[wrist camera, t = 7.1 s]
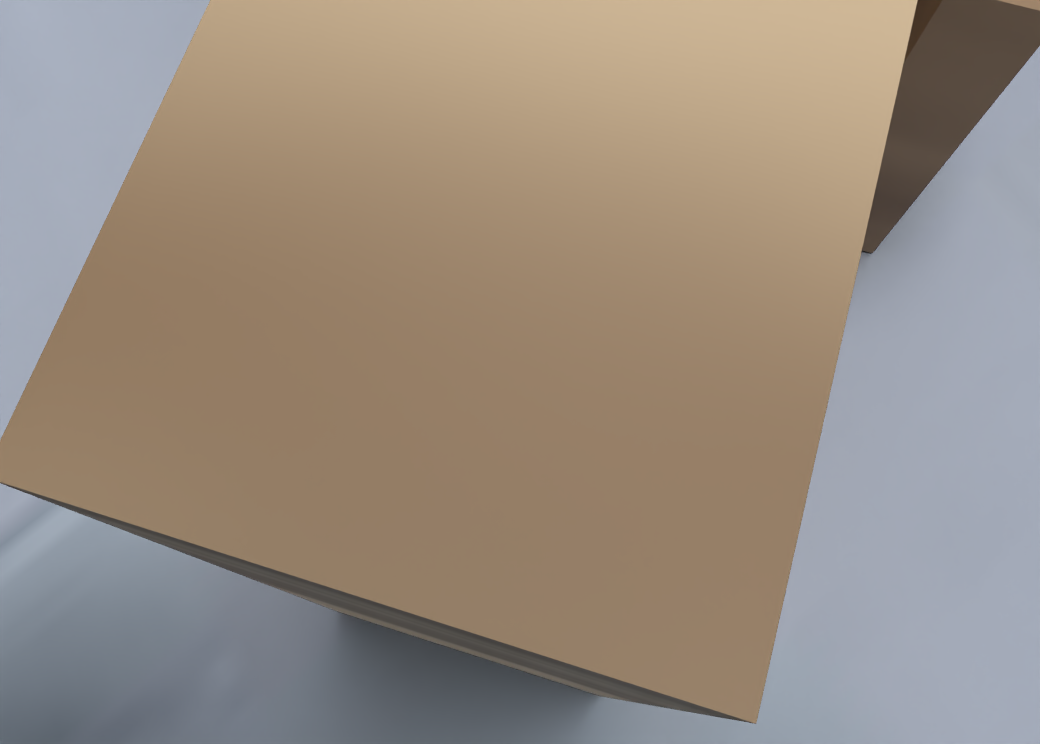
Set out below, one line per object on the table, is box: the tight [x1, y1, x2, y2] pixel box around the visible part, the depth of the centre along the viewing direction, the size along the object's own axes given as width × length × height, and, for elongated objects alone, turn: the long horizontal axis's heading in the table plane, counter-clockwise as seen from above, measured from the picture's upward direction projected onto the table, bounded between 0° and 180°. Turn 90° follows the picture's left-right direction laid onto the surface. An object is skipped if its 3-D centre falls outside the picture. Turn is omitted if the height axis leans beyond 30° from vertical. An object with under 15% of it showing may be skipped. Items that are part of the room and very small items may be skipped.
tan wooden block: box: [0, 0, 918, 724], centre depth 11 cm, size 12×4×10 cm, turn 163°
